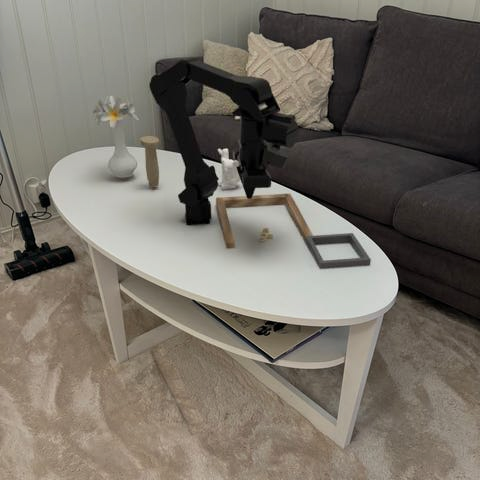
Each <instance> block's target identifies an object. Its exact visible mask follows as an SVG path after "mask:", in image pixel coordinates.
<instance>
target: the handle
mask: <svg viewBox="0 0 480 480" xmlns="http://www.w3.org/2000/svg"><path fill="white" fill-rule="evenodd" d="M140 144H141V146H142V147H144V154H145V172H146V179H147V182H148V183H147V185H148V186H149V187H150V188H151V187H153V188H156V187H159V184H160V166H159V161H158V156H157V155H158V153H157V147H158V146H159V145H160V140H159V138H158V137H156V136H152V135H146V136H142V137H140Z"/></svg>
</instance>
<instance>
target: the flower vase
mask: <svg viewBox="0 0 480 480" xmlns="http://www.w3.org/2000/svg"><path fill="white" fill-rule="evenodd" d="M97 100H98V101H97V103H96V104H95V109H93V110H92V114H96V116H95V118H94V120H95V122H96V128H98V127H99V125H100V123H101V122H108V121H109V126H110V128H111V129H112V130H113V136H114V138H113V139H114V151H113V155H112V156H111V157H110V158H109V159H108V162H107V167H108V170H110V172H111V173H113V174H114V176H115V177H116V178H122V179H123V178H130V177H131V176H133V175H134V172H135V170H136V169H137V168H138V161H137V159H136V158H135V157H134V156H133V155H132V154H131V153H130V152H129V150H128V148H127V145H126V138H125V133H124V120H125V115H128V116H129V117H131V118H133V119H134V120H136V121H138V122H139V121H140V120H139V118H138V116H137V115H136V114H135V112H136V108H135V107H134V105H133V103H131V102H130V100H129V98H128V97H126V102H125V103H124V102H123V99H122V98H121V97H120V96H119V97H116V99H115V97H114V96H113V95H110V96H109V95H107V96H106V97H105V100H104V99H103V98H102V97H100V98H98V99H97ZM115 100H116V101H115Z"/></svg>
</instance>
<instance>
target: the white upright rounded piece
mask: <svg viewBox="0 0 480 480" xmlns="http://www.w3.org/2000/svg"><path fill="white" fill-rule="evenodd" d="M217 152H218V153H219V155H221V157H220V161H221V181H220V182H218V186H221V187H222V189H223V190H228V189H230V190H231V189H236V188H237V185H236V184H239V183H240V182H241V180H240V177H239V174H238V171H237V169H236V167H237V166H240V164H239V161H238V160H234V159H229V158H230V157H229V149H228V148H223V149H221V148H218V149H217Z"/></svg>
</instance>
